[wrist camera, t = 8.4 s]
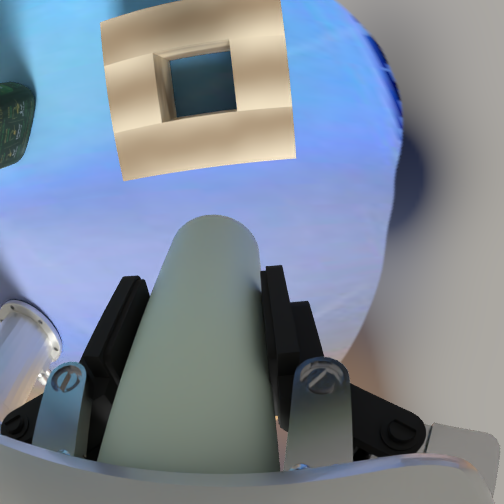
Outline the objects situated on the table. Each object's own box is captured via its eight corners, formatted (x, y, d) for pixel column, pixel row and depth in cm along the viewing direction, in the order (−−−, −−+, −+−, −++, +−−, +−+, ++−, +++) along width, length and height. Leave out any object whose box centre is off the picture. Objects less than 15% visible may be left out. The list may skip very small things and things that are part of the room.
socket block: (285, 146, 29) (295, 158, 23) (143, 165, 29) (123, 181, 24) (271, 9, 22) (278, -11, 17) (125, 33, 22) (100, 22, 17)
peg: (261, 289, 15) (286, 563, 4) (180, 294, 15) (129, 553, 4) (255, 211, 13) (291, 554, 3) (163, 219, 13) (40, 516, 3)
